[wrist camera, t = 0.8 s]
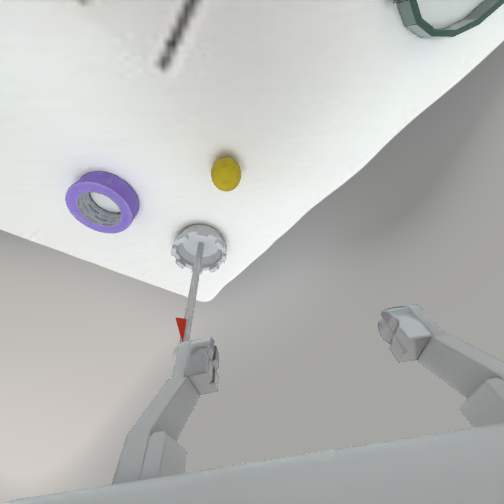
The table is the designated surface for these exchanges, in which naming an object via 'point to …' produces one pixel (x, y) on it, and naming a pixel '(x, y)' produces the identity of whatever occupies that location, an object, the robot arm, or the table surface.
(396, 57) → the table surface
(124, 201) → the tape roll
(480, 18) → the dark green tabbed ring
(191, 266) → the flag stand
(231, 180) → the lemon
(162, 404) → the robot arm
